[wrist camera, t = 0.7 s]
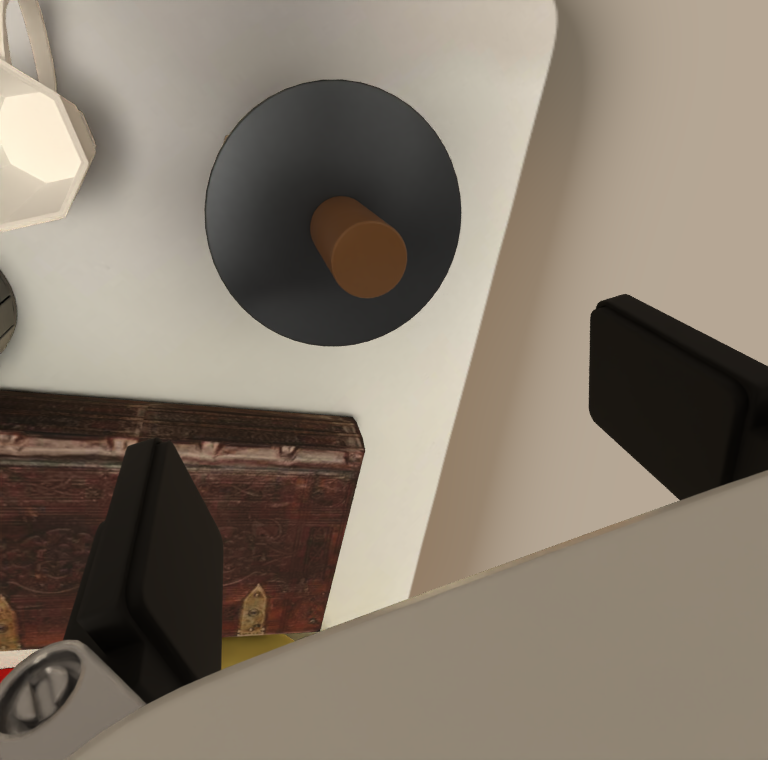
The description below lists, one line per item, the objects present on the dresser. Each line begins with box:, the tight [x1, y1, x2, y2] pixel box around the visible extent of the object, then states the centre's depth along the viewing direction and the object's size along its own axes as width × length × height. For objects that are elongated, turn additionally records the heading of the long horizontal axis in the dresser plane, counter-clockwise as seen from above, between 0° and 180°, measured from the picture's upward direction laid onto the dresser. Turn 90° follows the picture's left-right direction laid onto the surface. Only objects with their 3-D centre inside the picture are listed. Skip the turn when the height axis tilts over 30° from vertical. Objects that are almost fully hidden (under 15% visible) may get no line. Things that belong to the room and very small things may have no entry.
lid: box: [205, 80, 461, 346], centre depth 18 cm, size 10×10×6 cm
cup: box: [0, 0, 97, 232], centre depth 24 cm, size 7×10×8 cm
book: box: [0, 390, 365, 651], centre depth 38 cm, size 29×19×5 cm, turn 76°
